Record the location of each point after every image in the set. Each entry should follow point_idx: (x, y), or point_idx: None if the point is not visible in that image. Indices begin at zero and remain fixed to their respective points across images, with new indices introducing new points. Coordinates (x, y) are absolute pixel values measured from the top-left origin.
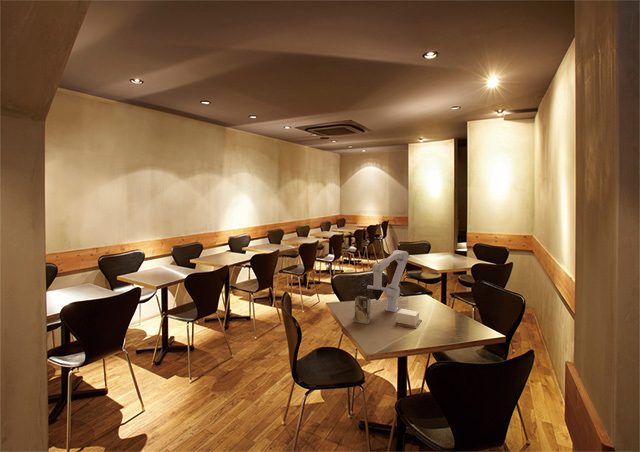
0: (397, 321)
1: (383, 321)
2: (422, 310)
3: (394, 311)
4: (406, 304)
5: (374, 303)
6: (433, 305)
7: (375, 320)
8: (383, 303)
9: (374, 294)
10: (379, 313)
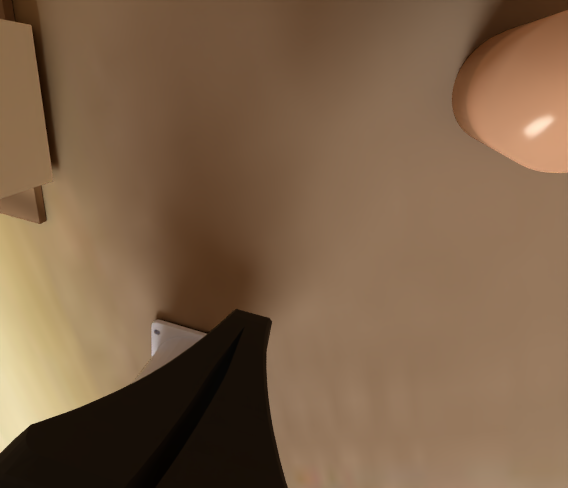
0: (14, 22)
1: (178, 12)
2: (17, 386)
3: (157, 323)
4: None
5: (364, 474)
6: None
7: (277, 3)
8: (291, 476)
9: (266, 415)
10: (278, 261)
